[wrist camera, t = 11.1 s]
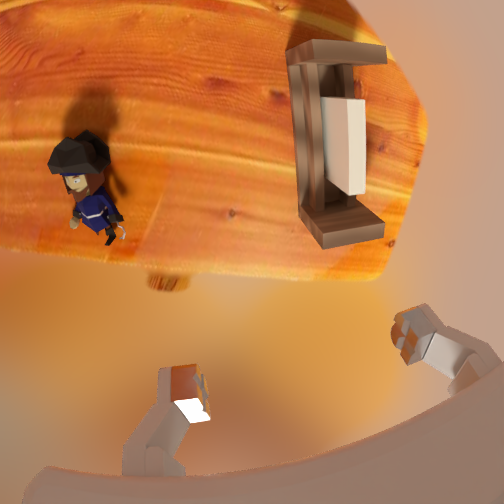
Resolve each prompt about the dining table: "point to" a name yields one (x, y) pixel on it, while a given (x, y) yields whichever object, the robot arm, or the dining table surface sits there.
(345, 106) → the door panel
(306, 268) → the dining table surface
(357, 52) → the wooden rack
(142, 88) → the dining table surface
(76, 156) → the toy
